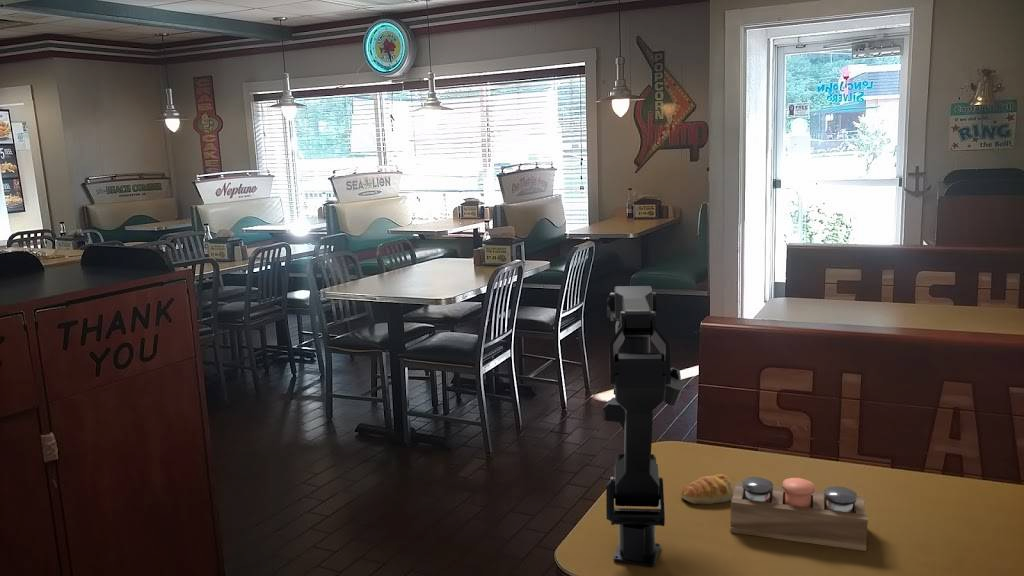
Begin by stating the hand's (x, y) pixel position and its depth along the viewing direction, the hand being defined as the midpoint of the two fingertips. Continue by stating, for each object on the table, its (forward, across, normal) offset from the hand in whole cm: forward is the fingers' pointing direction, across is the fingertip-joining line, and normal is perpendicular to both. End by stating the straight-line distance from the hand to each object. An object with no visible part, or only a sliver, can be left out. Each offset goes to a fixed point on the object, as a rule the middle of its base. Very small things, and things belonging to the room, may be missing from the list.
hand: (633, 443), depth 139 cm
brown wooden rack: (+13, +3, -27) cm, 30 cm away
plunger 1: (+12, +2, -21) cm, 24 cm away
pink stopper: (+11, +3, -27) cm, 30 cm away
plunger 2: (+12, +3, -34) cm, 36 cm away
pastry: (+14, +10, -12) cm, 21 cm away
